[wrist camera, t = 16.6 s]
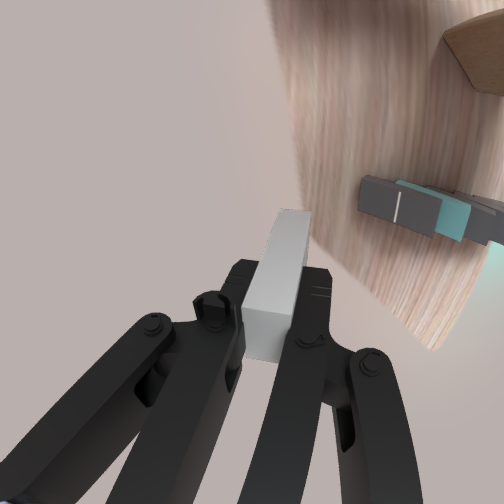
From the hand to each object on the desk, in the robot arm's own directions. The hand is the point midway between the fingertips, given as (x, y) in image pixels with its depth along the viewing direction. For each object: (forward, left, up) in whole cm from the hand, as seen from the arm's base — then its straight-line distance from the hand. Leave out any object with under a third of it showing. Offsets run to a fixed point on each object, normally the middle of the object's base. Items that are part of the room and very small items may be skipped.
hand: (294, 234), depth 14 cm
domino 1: (+8, +7, -28) cm, 29 cm away
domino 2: (+8, +12, -28) cm, 31 cm away
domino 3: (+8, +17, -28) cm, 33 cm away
